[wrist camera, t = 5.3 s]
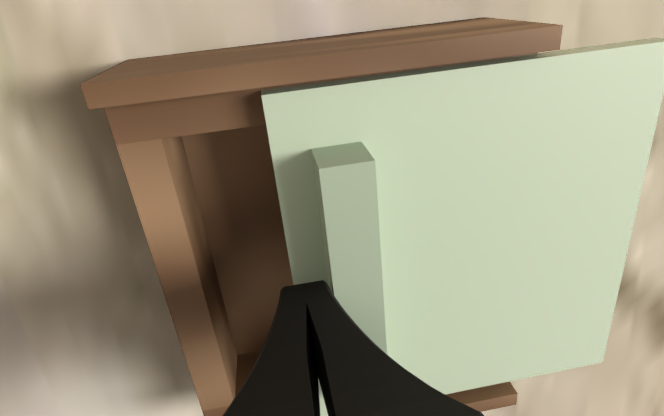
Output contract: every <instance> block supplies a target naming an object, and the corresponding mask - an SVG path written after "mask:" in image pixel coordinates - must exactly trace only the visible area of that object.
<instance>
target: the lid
mask: <svg viewBox="0 0 664 416" xmlns="http://www.w3.org/2000/svg"><path fill="white" fill-rule="evenodd" d="M663 92H664V39H661V38H651V39H643V40H636V41H628V42H621V43H613V44H606V45H598V46H591V47H583V48H575V49H568V50H560V51H553V52H545V53H538V54H531V55H523V56H515V57H508V58H500V59H493V60H485V61H478V62H470V63H462V64H455V65H447V66H440V67H432V68H425V69H417V70H409V71H402V72H394V73H387V74H379V75H372V76H364V77H357V78H349V79H341V80H334V81H326V82H319V83H311V84H304V85H296V86H289V87H281V88H274V89H266V90H261V97H262V103H263V109H264V115H265V120H266V126H267V132H268V138H269V144H270V150H271V156H272V162H273V168H274V173H275V179H276V185H277V191H278V197H279V203H280V209H281V215H282V221H283V226H284V232H285V238H286V244H287V250H288V256H289V262H290V268H291V274H292V280H293V285H297V284H303V283H309V282H314V281H320V280H324V281H325V282H327V284H328V286H329V288H330V290H331V292H332V293H333V295H334V296H335V298H336V299H337V301H338V302H339V303H340V305H341V306H342V307H343V309H344V310H345V311H346V313H347V314H348V315H349V316H350V317H351V319H352V320H353V321H354V322H355V323H356V324H357V326H358V327H359V328H360V329H361V330H362V331H363V332H364V333H365V334H366V335H367V336H368V337H369V338H370V339H371V340H372V341H373V342H374V343H375V344H376V345H377V346H378V347H379V348H380V349H381V350H382V351H384V352H385V353H386V354H387V355H388V356H390V357H391V358H392V359H393V360H394V361H396V362H397V363H398V364H399V365H401V366H402V367H403V368H405V369H406V370H407V371H409V372H410V373H412V374H413V375H415V376H416V377H418V378H419V379H421V380H422V381H424V382H425V383H427V384H428V385H430V386H431V387H433V388H434V389H436V390H438V391H440V392H441V393H443V394H450V393H455V392H460V391H465V390H470V389H475V388H480V387H485V386H490V385H494V384H499V383H504V382H509V381H514V380H519V379H524V378H529V377H534V376H539V375H543V374H548V373H553V372H558V371H563V370H568V369H573V368H578V367H583V366H588V365H592V364H597V363H602V362H603V358H604V353H605V349H606V344H607V340H608V336H609V331H610V327H611V322H612V318H613V313H614V309H615V305H616V300H617V296H618V291H619V287H620V282H621V278H622V274H623V269H624V265H625V260H626V256H627V252H628V247H629V243H630V238H631V234H632V229H633V225H634V221H635V216H636V212H637V207H638V203H639V199H640V194H641V190H642V185H643V181H644V176H645V172H646V168H647V163H648V159H649V154H650V150H651V145H652V141H653V137H654V132H655V128H656V123H657V119H658V115H659V110H660V106H661V101H662V97H663ZM318 385H319V401H320V416H328V413H327V409H326V405H325V402H324V398H323V394H322V390H321V387H320V383H319V379H318Z"/></svg>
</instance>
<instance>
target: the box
mask: <svg viewBox="0 0 664 416" xmlns="http://www.w3.org/2000/svg"><path fill="white" fill-rule="evenodd" d="M562 27H563V25H556V24H546V23H536V22H526V21H516V20H505V19H495V18H476V19H468V20H459V21H451V22H442V23H434V24H425V25H417V26H409V27H400V28H392V29H383V30H375V31H366V32H358V33H349V34H341V35H333V36H324V37H316V38H307V39H299V40H290V41H282V42H273V43H265V44H256V45H248V46H240V47H231V48H223V49H214V50H206V51H197V52H189V53H180V54H172V55H164V56H155V57H147V58H138V59H130V60H127V61H125V62H123V63H121V64H119V65H117V66H115V67H113V68H111V69H109V70H107V71H105V72H103V73H101V74H99V75H97V76H95V77H93V78H91V79H89V80H87V81H85V82H83V83H81V84H80V86H81V89H82V92H83V95H84V98H85V101H86V104H87V107H88V109H97V108H104V110H105V113H106V116H107V119H108V122H109V125H110V128H111V131H112V135H113V138H114V141H115V144H116V147H117V150H118V153H119V156H120V159H121V162H122V165H123V168H124V171H125V175H126V178H127V181H128V184H129V187H130V190H131V193H132V196H133V199H134V202H135V205H136V208H137V211H138V215H139V218H140V221H141V224H142V227H143V230H144V233H145V236H146V239H147V242H148V245H149V248H150V251H151V255H152V258H153V261H154V264H155V267H156V270H157V273H158V276H159V279H160V282H161V285H162V288H163V292H164V295H165V298H166V301H167V304H168V307H169V310H170V313H171V316H172V319H173V322H174V325H175V328H176V332H177V335H178V338H179V341H180V344H181V347H182V350H183V353H184V356H185V359H186V362H187V365H188V368H189V372H190V375H191V378H192V381H193V384H194V387H195V390H196V393H197V396H198V399H199V402H200V405H201V408H202V412H203V415H204V416H222V415H223V414H224V413H225V411H226V410H227V408H228V407H229V406H230V404H231V403H232V401H233V400H234V398H235V396H236V395H237V393H238V392H239V390H240V389H241V387H242V386H243V384H244V382H245V380H246V379H247V377H248V375H249V373H250V372H251V370H252V368H253V366H254V364H255V362H256V360H257V358H258V356H259V354H260V351H261V349H262V347H263V345H264V343H265V340H266V338H267V336H268V333H269V330H270V327H271V325H272V322H273V319H274V316H275V313H276V310H277V306H278V302H279V297H280V290H281V289H282V288H283V287H285V286H291V285H293V280H292V274H291V268H290V262H289V256H288V250H287V244H286V238H285V232H284V226H283V221H282V215H281V209H280V203H279V197H278V191H277V185H276V179H275V173H274V168H273V162H272V156H271V150H270V144H269V138H268V132H267V126H266V120H265V115H264V109H263V103H262V97H261V90H266V89H274V88H281V87H289V86H296V85H304V84H311V83H319V82H326V81H334V80H341V79H349V78H357V77H364V76H372V75H379V74H387V73H394V72H402V71H409V70H417V69H425V68H432V67H440V66H447V65H455V64H462V63H470V62H478V61H485V60H493V59H500V58H508V57H515V56H523V55H531V54H538V52H544V51H552V50H560V43H561V35H562ZM445 395H447V396H448V397H450V398H452V399H455V400H457V401H459V402H461V403H463V404H465V405H467V406H469V407H471V408H473V409H475V410H477V411H479V412H481V411H486V410H491V409H496V408H501V407H506V406H510V405H515V404H516V401H517V392H516V391H515V389H514V388H513V386H512V385H511V383H510V381H509V382H504V383H499V384H494V385H490V386H485V387H480V388H475V389H470V390H465V391H460V392H455V393H450V394H445Z"/></svg>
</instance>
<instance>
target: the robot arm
mask: <svg viewBox="0 0 664 416" xmlns="http://www.w3.org/2000/svg"><path fill="white" fill-rule="evenodd" d="M318 379H319V383H320V387H321V390H322V394H323V398H324V402H325V405H326V409H327V413H328V416H484V415H483V414H482V413H481V412H479V411H477V410H475V409H473V408H471V407H469V406H467V405H465V404H463V403H461V402H459V401H457V400H455V399H452V398H450V397H448V396H447V395H445V394H443V393H441V392H440V391H438V390H436V389H434V388H433V387H431V386H430V385H428V384H427V383H425V382H424V381H422V380H421V379H419V378H418V377H416V376H415V375H413V374H412V373H410V372H409V371H407V370H406V369H405V368H403V367H402V366H401V365H399V364H398V363H397V362H396V361H394V360H393V359H392V358H391V357H390V356H388V355H387V354H386V353H385V352H384V351H382V350H381V349H380V348H379V347H378V346H377V345H376V344H375V343H374V342H373V341H372V340H371V339H370V338H369V337H368V336H367V335H366V334H365V333H364V332H363V331H362V330H361V329H360V328H359V327H358V326H357V324H356V323H355V322H354V321H353V320H352V319H351V317H350V316H349V315H348V314H347V313H346V311H345V310H344V309H343V307H342V306H341V305H340V303H339V302H338V301H337V299H336V298H335V296H334V295H333V293H332V292H331V290H330V288H329V286H328V284H327V282H325V281H324V280H320V281H314V282H309V283H303V284H297V285H291V286H285V287H283V288H282V289H281V290H280V297H279V302H278V306H277V310H276V313H275V316H274V319H273V322H272V325H271V327H270V330H269V333H268V336H267V338H266V340H265V343H264V345H263V347H262V349H261V351H260V354H259V356H258V358H257V360H256V362H255V364H254V366H253V368H252V370H251V372H250V373H249V375H248V377H247V379H246V380H245V382H244V384H243V386H242V387H241V389H240V390H239V392H238V393H237V395H236V396H235V398H234V400H233V401H232V403H231V404H230V406H229V407H228V408H227V410H226V411H225V413H224V414H223V415H222V416H320V401H319V385H318Z"/></svg>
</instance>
